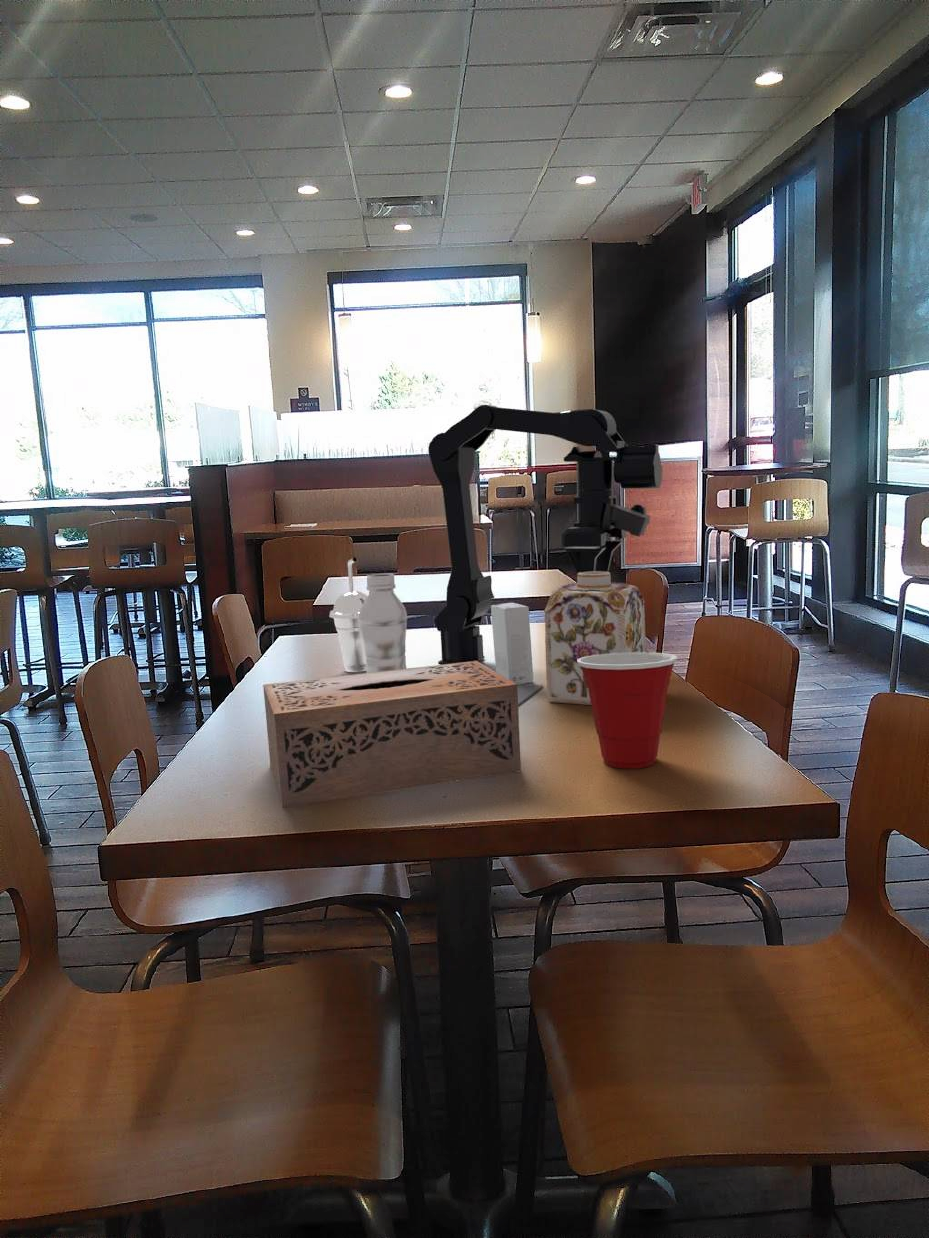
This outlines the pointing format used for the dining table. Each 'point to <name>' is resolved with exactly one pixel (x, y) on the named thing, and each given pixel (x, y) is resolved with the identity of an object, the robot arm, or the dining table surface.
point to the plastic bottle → (383, 625)
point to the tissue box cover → (390, 731)
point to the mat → (526, 691)
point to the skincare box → (512, 642)
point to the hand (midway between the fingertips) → (595, 586)
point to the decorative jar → (589, 630)
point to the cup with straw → (350, 626)
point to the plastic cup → (628, 704)
